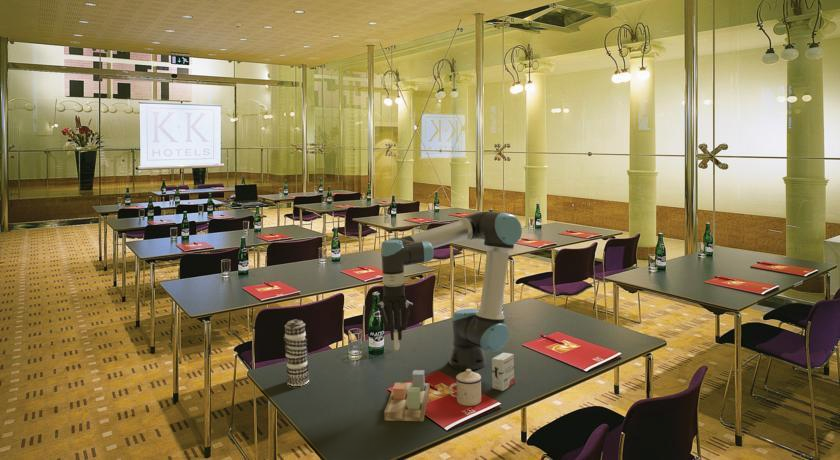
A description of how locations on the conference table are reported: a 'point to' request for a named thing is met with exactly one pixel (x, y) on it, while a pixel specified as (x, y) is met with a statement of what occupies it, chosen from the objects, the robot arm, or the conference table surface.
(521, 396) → the conference table surface
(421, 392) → the block board
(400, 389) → the block terracotta
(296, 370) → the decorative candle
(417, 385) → the block slate
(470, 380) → the teacup with lid
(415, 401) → the block sage
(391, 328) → the robot arm
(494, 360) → the ink box
